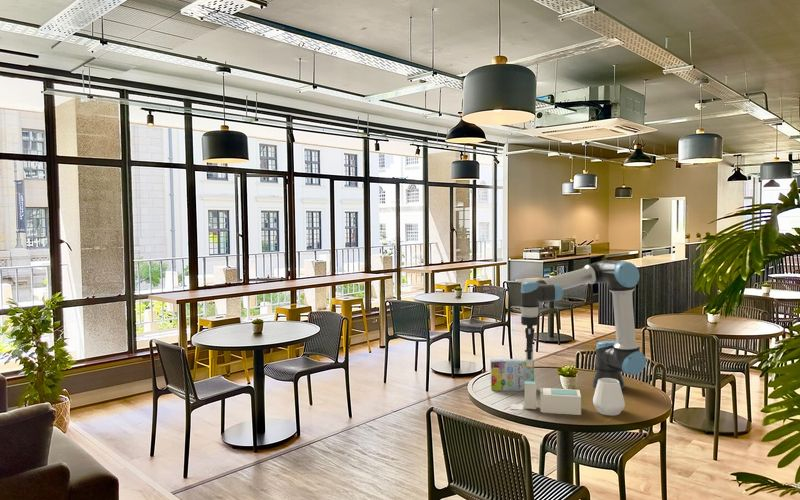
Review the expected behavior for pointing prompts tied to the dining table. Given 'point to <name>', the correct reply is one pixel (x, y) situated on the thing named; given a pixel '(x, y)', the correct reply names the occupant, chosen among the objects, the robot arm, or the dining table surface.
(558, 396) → the white tissue box
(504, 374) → the snack box
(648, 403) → the dining table surface
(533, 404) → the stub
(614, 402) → the white vase
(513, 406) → the pad
